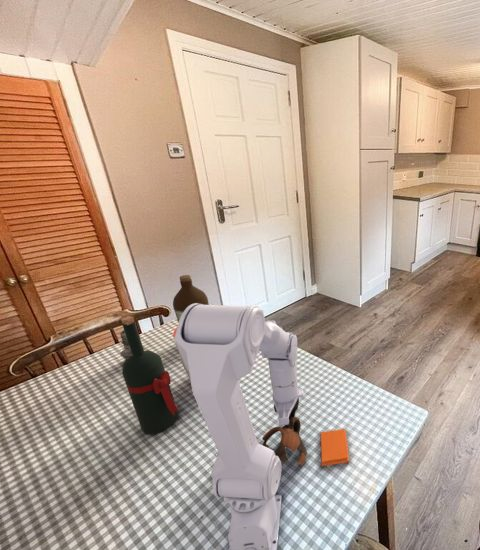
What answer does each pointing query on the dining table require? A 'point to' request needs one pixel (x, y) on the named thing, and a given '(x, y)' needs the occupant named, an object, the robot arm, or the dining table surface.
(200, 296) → the olive oil
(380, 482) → the dining table surface
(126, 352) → the salt shaker
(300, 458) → the brown toy figure
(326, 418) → the dining table surface
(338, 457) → the orange flat block
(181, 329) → the robot arm
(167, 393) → the wine bottle
